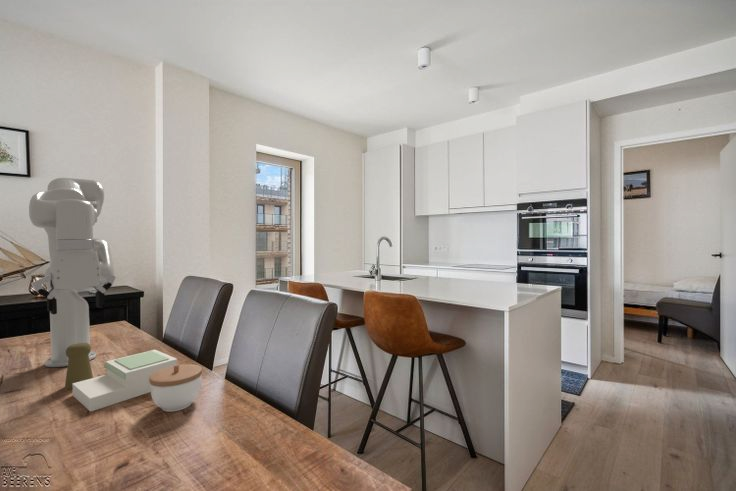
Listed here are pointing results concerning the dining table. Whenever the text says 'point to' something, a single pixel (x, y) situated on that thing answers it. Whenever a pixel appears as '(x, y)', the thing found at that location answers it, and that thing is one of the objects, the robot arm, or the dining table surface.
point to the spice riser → (121, 379)
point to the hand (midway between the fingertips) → (77, 310)
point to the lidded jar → (175, 386)
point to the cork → (78, 364)
